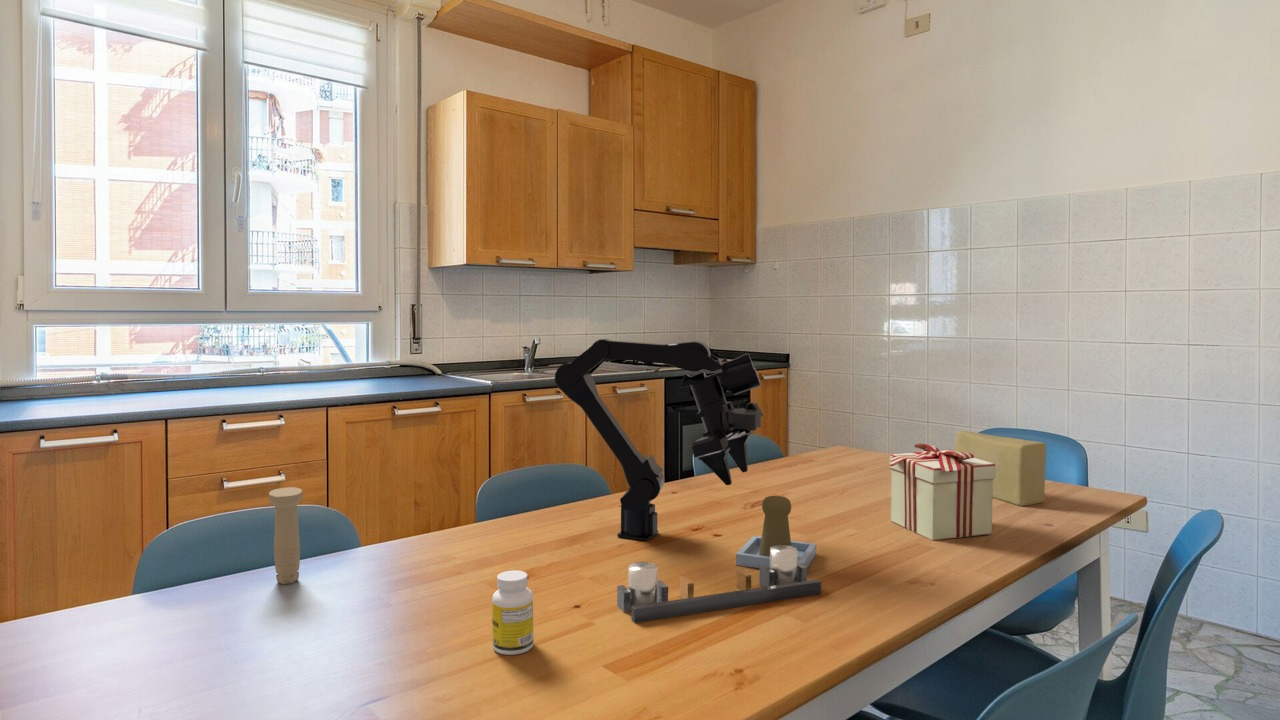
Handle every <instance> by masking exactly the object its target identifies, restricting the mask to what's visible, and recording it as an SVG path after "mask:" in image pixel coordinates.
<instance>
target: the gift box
mask: <svg viewBox="0 0 1280 720" xmlns="http://www.w3.org/2000/svg"><path fill="white" fill-rule="evenodd" d="M914 448H918V449H921V450H920V451H915V452H914V451H913V452H907V453H905V452H904V453H892V454H889V464H888V466H889V469H890V470H891V477H890V478H891V481H890V483H891V484H890V486H891V487H890V522H892V523H894V524H896V525H898V526H900V527H903V528H904V529H906V530H909V531H911V532H913V533H915V534H918V536H919V535H920V536H921V537H923V538H926V539H928V540H930V541H938V540H949V539H960V538H968V537H969V538H970V537H977V536H986V535H992V534H993V533H992V532H993V499H994V498H993V479H995V464H994V463H991V462H987V461H984V460H980V459H977V458H974V455H973V454H971V453H966V452H955V451H954V449H945V450H941V449H939V448H938V447H937V446H934V445H931V444H926V443H921V442H920V443H916V444H914Z"/></svg>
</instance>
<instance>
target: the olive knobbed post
mask: <svg viewBox="0 0 1280 720" xmlns="http://www.w3.org/2000/svg"><path fill="white" fill-rule="evenodd" d="M761 509H762V511H763V514H764V519H763V520H764V521H763V525H762V533H761V537H762V538H761V545H760V551H759V555H761V556H768V557H770V547H772V546H775V545H787V546H791V541H792V540H791V531H790V523H789V515H790V514H791V510H792V503H791V501H790V499H789V498H787V497H786V496H782V495H769V496H766V497H765V498H764V499H763V501H762V504H761Z"/></svg>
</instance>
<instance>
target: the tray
mask: <svg viewBox="0 0 1280 720" xmlns="http://www.w3.org/2000/svg"><path fill="white" fill-rule="evenodd" d="M761 538H762V536H758V535H752V537H751V538H750V539H749V540H748V541H747V542H746V543H745V544H744V545H743V546H742V547H741V548H740V549H739V550H738V551H737V552H736V554H735V566H739V567H746V566H747V567H748V568H753V567H754V568H755V569H760V567H761V566H766V567H767V568H769V569H770V557H768V556H761V555H759V551H760V545H761ZM791 546H792V547H795V548H796V549H797V562H798V563H800V564H802V565H804V566H806V567H807V569H808V568H809V566H810V565H811V563H812V562H813V560H814V559H813V558H816V555H817V543H811V542H805V541H798V540H791ZM811 561H812V562H811Z"/></svg>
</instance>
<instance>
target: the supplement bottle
mask: <svg viewBox="0 0 1280 720" xmlns="http://www.w3.org/2000/svg"><path fill="white" fill-rule="evenodd" d="M496 581H497V582H496V585H497V590H496V591H495V592H494V593H493V595H492V598H491V599H492V600H491V604H492V605H491V606H492V607H491V610H492V611H491V612H492V613H491V614H492V615H491V616H492V619H491V620H492V625H491V626H492V647H493V650H494V651H495V652H496V653H498V654H501V655H506V656H515V655H520V654H524V653H526V652H528V651H530V650H531V649H532V648H533V647H534V594H533V592H532V590H531V589H530V588H528V583H529V582H528V573H527V572H525V571H523V570H505V571H503V572H500V573H498V574H497V578H496Z"/></svg>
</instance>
